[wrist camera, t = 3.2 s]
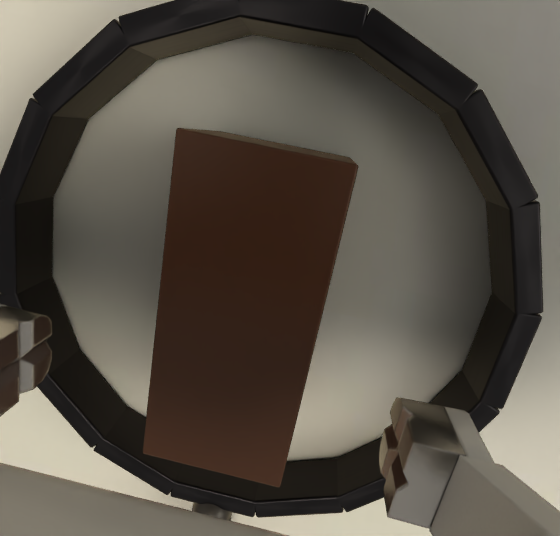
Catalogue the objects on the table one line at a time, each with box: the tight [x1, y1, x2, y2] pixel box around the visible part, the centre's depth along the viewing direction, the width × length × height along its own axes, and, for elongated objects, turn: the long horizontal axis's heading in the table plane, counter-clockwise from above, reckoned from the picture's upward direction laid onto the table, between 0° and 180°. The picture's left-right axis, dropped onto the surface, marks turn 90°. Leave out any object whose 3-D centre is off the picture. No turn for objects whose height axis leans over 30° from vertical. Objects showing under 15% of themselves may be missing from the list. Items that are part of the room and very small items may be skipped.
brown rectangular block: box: [143, 128, 358, 487], centre depth 13 cm, size 10×4×4 cm, turn 169°
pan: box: [0, 0, 543, 521], centre depth 15 cm, size 24×18×2 cm
